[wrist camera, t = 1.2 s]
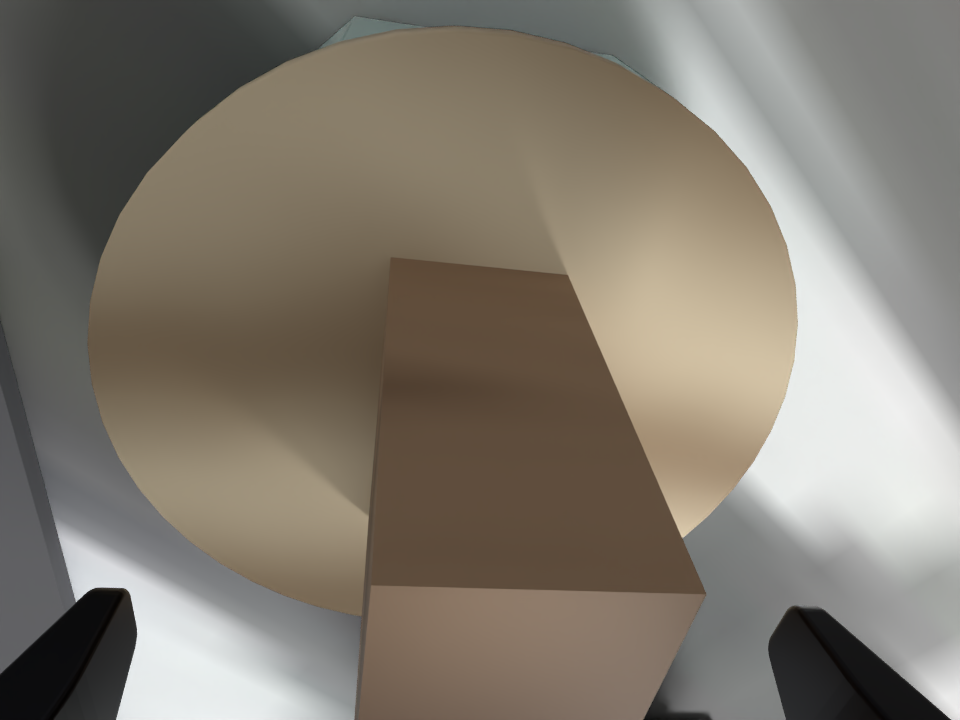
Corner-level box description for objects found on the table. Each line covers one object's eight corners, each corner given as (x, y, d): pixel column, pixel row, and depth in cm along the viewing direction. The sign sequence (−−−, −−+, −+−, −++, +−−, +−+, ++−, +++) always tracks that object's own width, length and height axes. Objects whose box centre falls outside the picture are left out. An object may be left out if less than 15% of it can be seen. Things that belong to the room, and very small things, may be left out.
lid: (665, 600, 18) (795, 949, 12) (148, 587, 16) (-12, 997, 10) (899, 90, 11) (1492, 304, 5) (38, -44, 9) (-708, 43, 3)
